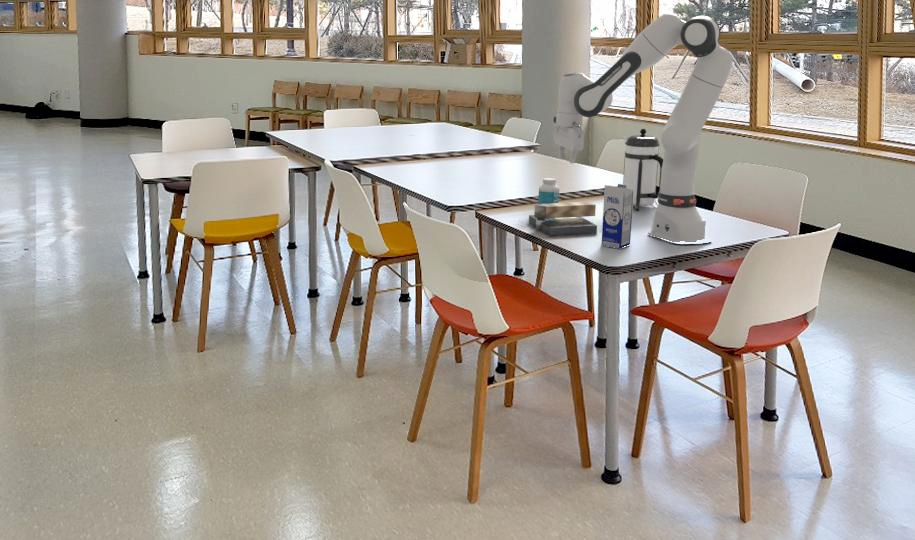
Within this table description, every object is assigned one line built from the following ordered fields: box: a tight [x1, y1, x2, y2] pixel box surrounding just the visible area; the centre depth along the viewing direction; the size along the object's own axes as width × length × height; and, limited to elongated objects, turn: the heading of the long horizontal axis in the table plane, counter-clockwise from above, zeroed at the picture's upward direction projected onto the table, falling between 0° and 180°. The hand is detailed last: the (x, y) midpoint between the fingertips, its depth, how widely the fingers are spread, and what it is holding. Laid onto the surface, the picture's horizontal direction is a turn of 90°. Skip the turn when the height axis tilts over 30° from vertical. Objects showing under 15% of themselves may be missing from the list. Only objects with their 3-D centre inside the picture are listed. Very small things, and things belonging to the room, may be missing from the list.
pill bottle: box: [538, 177, 560, 204], centre depth 347 cm, size 8×7×14 cm
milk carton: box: [600, 183, 634, 249], centre depth 304 cm, size 7×7×20 cm
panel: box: [528, 214, 598, 238], centre depth 327 cm, size 20×18×4 cm
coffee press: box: [622, 128, 664, 212], centre depth 360 cm, size 17×16×30 cm
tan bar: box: [533, 201, 596, 218], centre depth 326 cm, size 21×5×4 cm, turn 106°
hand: (567, 160), depth 330 cm, fingers open, 8 cm apart
